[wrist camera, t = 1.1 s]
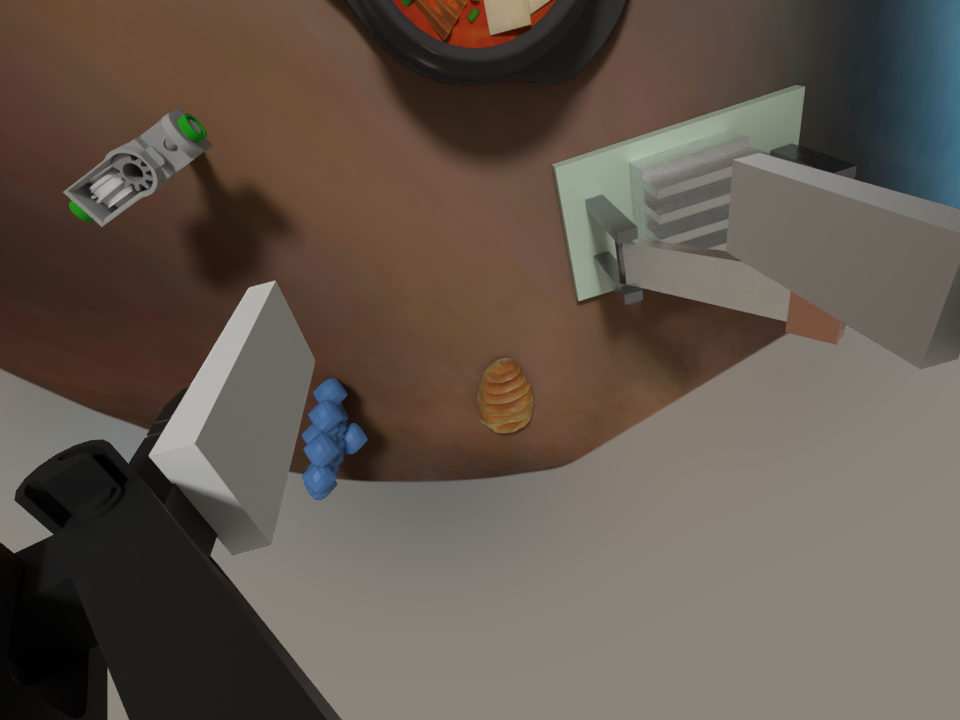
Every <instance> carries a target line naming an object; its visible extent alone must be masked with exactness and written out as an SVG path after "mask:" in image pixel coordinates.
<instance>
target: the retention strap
mask: <svg viewBox="0 0 960 720" xmlns="http://www.w3.org/2000/svg"><path fill="white" fill-rule="evenodd" d="M615 247H616V256H617V265H618V273H619V282H620V283H621V284H627V285H632V286H636V287H640V288H644V289H649V290H653V291H657V292H662V293H666V294H670V295H674V296H679V297H683V298H687V299H692V300H696V301H700V302H705V303H709V304H713V305H717V306H722V307H726V308H730V309H735V310H739V311H743V312H747V313H752V314H756V315H760V316H765V317H769V318H773V319H778V320H782V321H786V322H787V324H786V332H788V333H792V334H796V335H800V336H804V337H808V338H812V339H816V340H820V341H824V342H828V343H832V344H837V342H838V341H839V340H840V338H841V337H842V336H843V334H844V330H845V326H846V324H845V323H843V322H841V321H840V320H838V319H836V318H835V317H833V316H831V315H830V314H828V313H826V312H825V311H823V310H821V309H820V308H818V307H816V306H815V305H813V304H811V303H810V302H808V301H807V300H805V299H803V298H802V297H800V296H798V295H797V294H795V293H793V292H792V291H790V290H788V289H787V288H785V287H783V286H782V285H780V284H778V283H777V282H775V281H773V280H772V279H770V278H769V277H767V276H765V275H764V274H762V273H760V272H759V271H757V270H755V269H754V268H752V267H750V266H749V265H747V264H745V263H744V262H742V261H740V260H739V259H737V258H735V257H734V256H732V255H730V254H729V253H727V252H726V251H721V250H715V249H708V248H702V247H695V246H688V245H682V244H675V243H669V242H662V241H656V240H649V239H643V238H638V239H635V240H632V241H629V242H626V243H622V244H619V245H618V244H617V243H616V241H615Z"/></svg>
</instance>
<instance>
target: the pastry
mask: <svg viewBox="0 0 960 720" xmlns="http://www.w3.org/2000/svg"><path fill="white" fill-rule="evenodd" d="M477 401H478V403H479V408H480V420H481V422H482V423H483V424H484V425H486V426H487V427H488V428H490V429H492V430H493V431H494V432H497V433H511V432H515V431H517V430H518V429H520V428H523V427H524V426H526V425H527V424H528V422H529V421H530V419H531V416H532V409H533V406H534V398H533V390H532V388H531V386H530V383H529V382H528V380H527V378H526V376H525V374H524V372H523V370H522V368H521V366H520V365H519V364H518V363H517V362H516V361H515V360H513V359H512V358H502V359H498V360H496V361H494V362H492V363H491V364H489V365H488V367H487V368H486V370H485V371H484V375H483V379H482V381H481V383H480V387H479V393H478V397H477Z"/></svg>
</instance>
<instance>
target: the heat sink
mask: <svg viewBox="0 0 960 720" xmlns="http://www.w3.org/2000/svg"><path fill="white" fill-rule="evenodd" d="M748 139H749V137H748V136H745V135H743V134H740V133H737V132H734V131H732V130H726V131H723V132H720V133H717V134H714V135H711V136H708V137H704V138H701V139H698V140H695V141H692V142H689V143H686V144H683V145H680V146H677V147H673V148H670V149H667V150H664V151H661V152H658V153H655V154H652V155H649V156H646V157H643V158H639V159H636V160H633V161H630V162H629V169H630V181H631V193H632V204H633V216H634V223H633V222H632V221H630V220H629V219H628V218H627V217H626V216H625V215H624V214H623V213H622V212H621V211H620V210H619V209H617V208H616V207H615V206H614V205H613V204H612V203H611V202H610V201H609V200H608V199H607V198H606V197H605V196H603V195H602V194H601V195H598V196H595V197H592V198H589V199H586V200H585V202H586V209H587V211H588V212H589V213H590V214H591V215H592V216H593V217H594V218H595V220H596V221H597V222H598V223H599V224H600V225H601V226H602V227H603V228H604V229H605V231H606V232H607V233H608V234H609V235H610V236H611V237H612V238H613V239H614V240H615V241H616V243H617V244H618V245H619V244H622V243H626V242H629V241H632V240H635V239H638V238H643V239H649V240H656V241H662V242H669V243H675V244H682V245H688V246H695V247H702V248H708V249H715V250H721V251H726V245H727V232H728V219H729V206H730V193H731V181H732V168H733V160H734V159H738V158H742V157H746V156H749V155H753V154H757V153H762V154H765V155H769V156H772V157H776V158H780V159H783V160H787V161H790V162H794V163H797V164H801V165H804V166H808V167H812V168H815V169H819V170H822V171H826V172H829V173H833V174H836V175H840V176H844V177H847V178H851V179H855V174H856V169H857V165H854V164H851V163H848V162H845V161H842V160H839V159H836V158H834V157H831V156H828V155H825V154H822V153H819V152H816V151H813V150H810V149H807V148H804V147H801V146H799V145H796V144H793V143H792V144H789V145H785V146H782V147H779V148H776V149H773V150H770V154H769V153H766V152H764V151H761V150H759V149H756V148H753V147H751V146H748ZM593 257H594V263H595V266H596V267H597V268H598V270H599V271H600V272H601V274H602V275H603V276H604V278H605V279H606V280H607V282H608V283H609V284H610V286H611V287H612V288H613V290H614V291H615V292H616V294H617V295H618V296H619V298H620V299H621V300H622V302H623V303H624V304H625V305H628V304H631V303H635V302H638V301H641V300H643V290H642V289H641V288H640V287H636V286H632V285H627V284H621V283H620V282H619V273H618V265H617V260H616V258H615V257H614V256H613V255H612V254H611V253H610V251H607V252H604V253H601V254H598V255H595V256H593Z"/></svg>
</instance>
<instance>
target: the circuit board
mask: <svg viewBox="0 0 960 720" xmlns="http://www.w3.org/2000/svg"><path fill="white" fill-rule="evenodd" d="M804 93H805V87H804V86H799V85H794V86H791V87H788V88H785V89H782V90H779V91H776V92H773V93H770V94H767V95H764V96H761V97H758V98H754V99H751V100H748V101H745V102H742V103H739V104H736V105H733V106H730V107H727V108H724V109H721V110H718V111H715V112H712V113H708V114H705V115H702V116H699V117H696V118H693V119H690V120H687V121H684V122H681V123H678V124H675V125H672V126H669V127H665V128H662V129H659V130H656V131H653V132H650V133H647V134H644V135H641V136H638V137H635V138H632V139H629V140H626V141H623V142H619V143H616V144H613V145H610V146H607V147H604V148H601V149H598V150H595V151H592V152H589V153H586V154H583V155H580V156H577V157H573V158H570V159H567V160H564V161H561V162H558V163H555V164H552V169H553V175H554V180H555V186H556V191H557V197H558V202H559V208H560V213H561V219H562V224H563V230H564V235H565V241H566V246H567V252H568V257H569V263H570V268H571V274H572V280H573V285H574V291H575V296H576V298H577V299H578V301H581V300H585V299H588V298H591V297H594V296H598V295H601V294H604V293H607V292H611V291H614V290H613V288H612V287H611V286H610V284H609V283H608V282H607V280H606V279H605V278H604V276H603V275H602V274H601V272H600V271H599V270H598V268H597V267H596V266H595V263H594V257H593V256H595V255H598V254H601V253H604V252H607V251H610V253H611V254H612V255H613V256H614V257H615V258H616V260H617V256H616V247H615V240H614V239H613V238H612V237H611V236H610V235H609V234H608V233H607V232H606V231H605V229H604V228H603V227H602V226H601V225H600V224H599V223H598V222H597V221H596V220H595V218H594V217H593V216H592V215H591V214H590V213H589V212H588V211H587V209H586V202H585V200H586V199H589V198H592V197H595V196H598V195H601V194H602V195H603V196H605V197H606V198H607V199H608V200H609V201H610V202H611V203H612V204H613V205H614V206H615V207H616V208H617V209H619V210H620V211H621V212H622V213H623V214H624V215H625V216H626V217H627V218H628V219H629V220H630V221H632V222H633V223H634V216H633V204H632V193H631V181H630V169H629V162H630V161H633V160H636V159H639V158H643V157H646V156H649V155H652V154H655V153H658V152H661V151H664V150H667V149H670V148H673V147H677V146H680V145H683V144H686V143H689V142H692V141H695V140H698V139H701V138H704V137H708V136H711V135H714V134H717V133H720V132H723V131H726V130H732V131H734V132H737V133H740V134H743V135H745V136H748V137H749V139H748V146H751V147H753V148H756V149H759V150H761V151H764V152H766V153H769V154H770V150H773V149H776V148H779V147H782V146H785V145H789V144H792V143H793V144H796V145H798V144H799V135H800V127H801V118H802V110H803V101H804Z"/></svg>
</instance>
